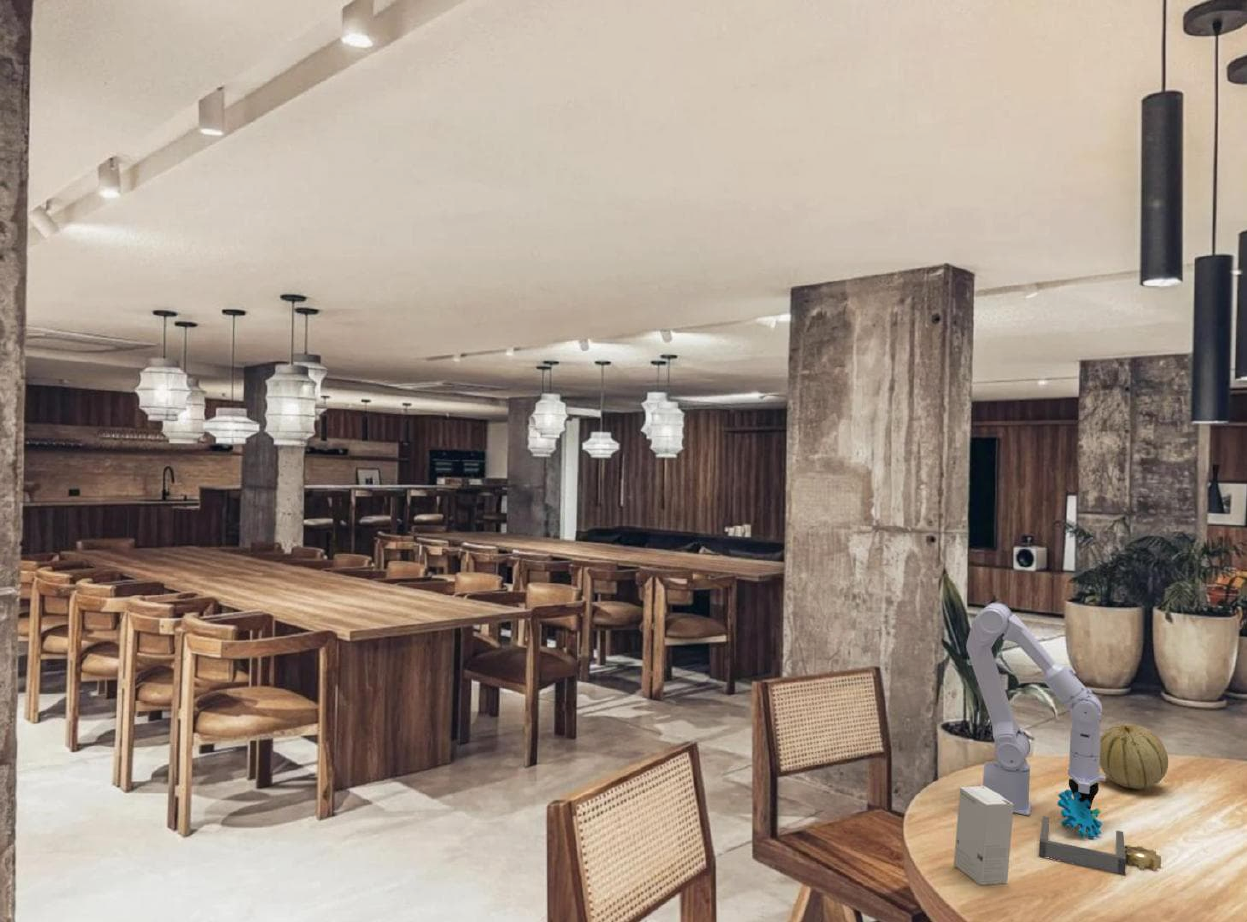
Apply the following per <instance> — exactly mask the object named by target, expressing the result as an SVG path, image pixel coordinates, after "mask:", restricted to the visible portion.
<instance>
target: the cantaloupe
mask: <svg viewBox="0 0 1247 922" xmlns="http://www.w3.org/2000/svg"><path fill="white" fill-rule="evenodd" d="M1168 768H1169V756H1168V752H1167V750H1166V748H1165V745H1164V744H1163V742H1162V740H1161V739H1160V738H1159V736H1157V734H1156V733H1154V732H1153V731H1151V730H1150V729H1148V728H1147V727H1144V726H1140V725H1138V724H1133V723H1122V724H1118V725H1117V724H1116V725H1114V726H1111V727H1110V728H1108V729H1107V730H1106V731H1105V732H1103V733H1101V743H1100V769H1101V770H1102V771H1103V773H1104V774H1105V776H1106V778H1108V779H1109V780H1111V781H1112V782H1113V783H1115V784H1117V785H1119V786H1121V787H1124V788H1128V789H1133V790H1141V789H1148V788H1151V787H1153V786H1155V785H1156V784H1159V783H1160V782H1161V781H1162V780H1163V779H1164V778H1165V776H1166V775H1167V771H1168Z"/></svg>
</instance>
